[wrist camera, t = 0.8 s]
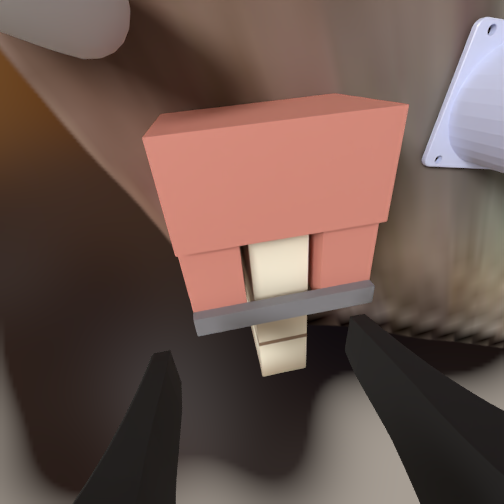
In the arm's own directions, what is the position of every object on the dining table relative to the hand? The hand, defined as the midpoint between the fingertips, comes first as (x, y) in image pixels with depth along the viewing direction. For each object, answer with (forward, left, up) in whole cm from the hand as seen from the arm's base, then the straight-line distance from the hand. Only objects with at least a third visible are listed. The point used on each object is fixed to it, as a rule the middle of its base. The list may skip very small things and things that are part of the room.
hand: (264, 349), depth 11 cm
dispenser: (-2, -2, -10) cm, 11 cm away
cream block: (-3, +3, -10) cm, 11 cm away
